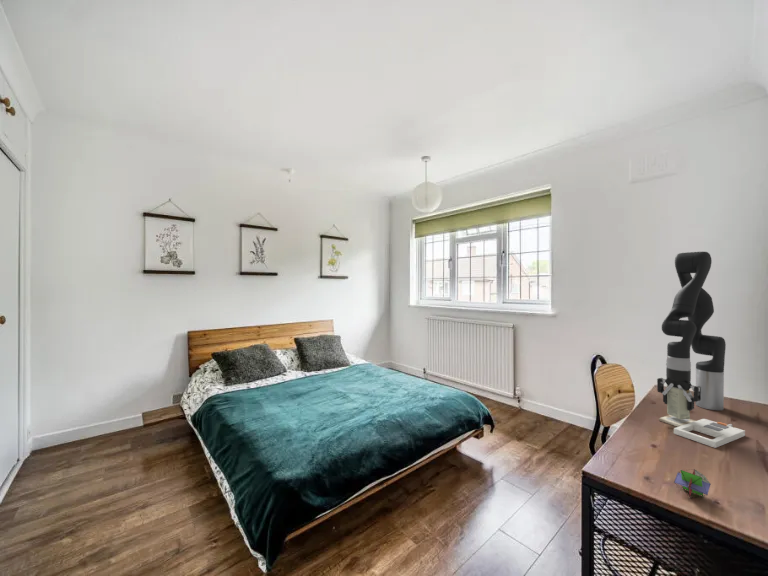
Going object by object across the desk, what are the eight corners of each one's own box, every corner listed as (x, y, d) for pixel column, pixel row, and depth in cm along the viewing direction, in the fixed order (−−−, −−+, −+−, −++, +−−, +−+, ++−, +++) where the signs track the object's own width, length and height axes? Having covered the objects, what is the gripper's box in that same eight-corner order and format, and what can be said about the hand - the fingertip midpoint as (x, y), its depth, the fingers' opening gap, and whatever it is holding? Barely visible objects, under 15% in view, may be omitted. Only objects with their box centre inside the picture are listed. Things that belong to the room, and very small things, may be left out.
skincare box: (690, 419, 132) (690, 389, 132) (679, 419, 132) (679, 389, 132) (676, 413, 138) (676, 384, 138) (666, 413, 138) (666, 384, 138)
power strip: (711, 420, 136) (711, 414, 136) (752, 432, 125) (752, 425, 125) (673, 433, 125) (673, 426, 125) (715, 447, 114) (715, 440, 114)
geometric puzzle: (704, 501, 83) (709, 470, 86) (670, 487, 89) (675, 458, 91) (709, 508, 87) (713, 478, 89) (675, 495, 92) (680, 467, 95)
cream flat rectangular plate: (673, 416, 141) (673, 413, 141) (697, 423, 134) (697, 420, 134) (658, 420, 136) (658, 418, 136) (682, 428, 129) (682, 425, 129)
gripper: (705, 370, 130) (705, 411, 130) (663, 362, 143) (662, 400, 143) (695, 373, 127) (695, 414, 127) (653, 364, 140) (652, 402, 140)
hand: (678, 406), depth 135 cm, fingers closed on skincare box, 7 cm apart
